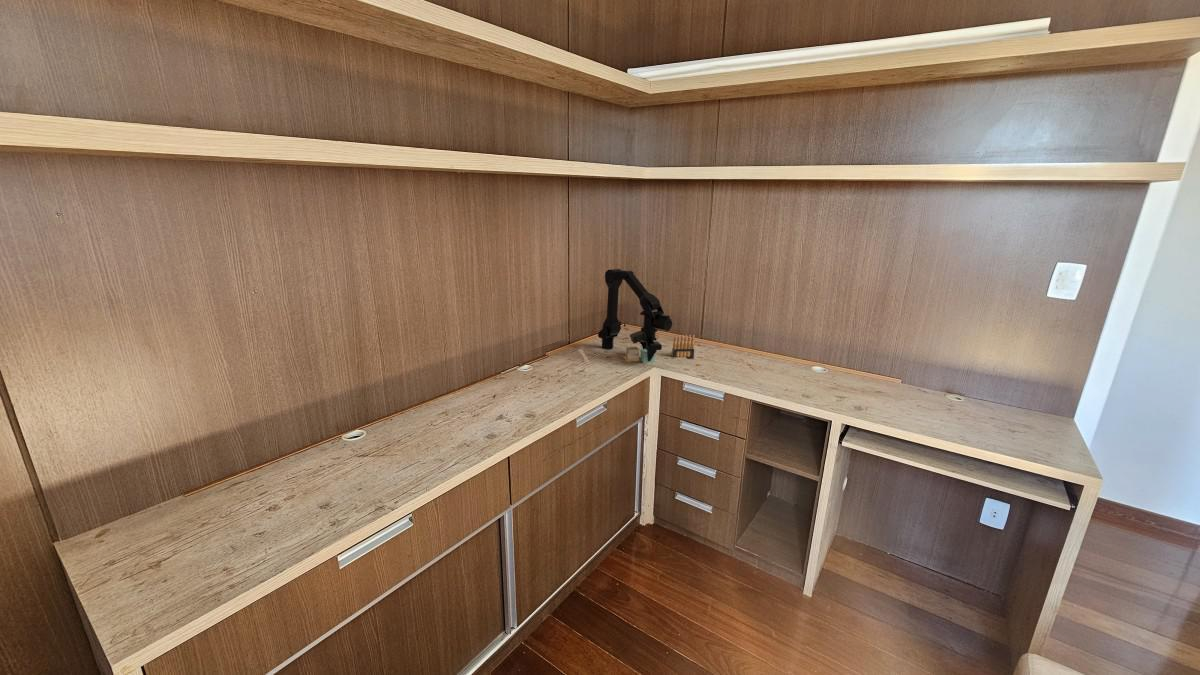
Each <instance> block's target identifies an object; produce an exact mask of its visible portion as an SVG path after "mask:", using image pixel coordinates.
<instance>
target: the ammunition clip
mask: <svg viewBox="0 0 1200 675" xmlns="http://www.w3.org/2000/svg"><path fill="white" fill-rule="evenodd" d="M670 356H671V358H675V359H676V358H686V359H687V360H695V359H694V358H695V357H694V356H695V334H692V337H691V334H689V335H687V334H685V336H684V334H682V335H680V334H678V336H677V334H674V337H673V342H672V350H671V355H670Z"/></svg>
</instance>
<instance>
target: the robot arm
mask: <svg viewBox="0 0 1200 675" xmlns="http://www.w3.org/2000/svg"><path fill="white" fill-rule="evenodd" d="M623 280H624V282H625V283H626V284H627V286H629V288H630V289H631V291H632V292H633V293H634V294H635V295H636V297H637V298H638V300H639V304H640V306H641V309H642V311H641V312H640V313H639V315H642V316H643V325H642V326H641V328H640V330H638V331H635V332H633V333H630V334H629V337H630V340H631V342H632V343H633V344H637V343H639V344H640V345H641V349H646V350H647V355H648V361H651V359H652V358H653V356H654V354H655V355H656V353H657V352H658V351H662V348H663V345H662V344H661V343H660V342H659V341H657V340H658V338H657V337H656V333H657V332H658V330H661V331H664V332H669V331H671V328H673V321H672V319H671V318H670V317H671V316H670V315H668V314H665V311H664V309H663V308H662V305H661V301H660V300H659V298H658V297H656V296H655V295H654V294H653V293H650V292H649V291H647V289H646V288H645V286H644V285H643V284H642V282H640V280H639V279H638V277H636V275H635V272H634V271H632V270H622V269H621V268H611V269H608V270H607V271H605V272H604V281H605V284H606V286H607V288H608V289H607V304H606V305H607V307H606V317H605V320H604V322H603V324H602V327H601V328H602V329H601V330H600V331H598V332H597V336H598V338H600V339H601V348H602V349H604V350H607V351H608V350H611V351H612V350H613V349H614V338H618V335H619V334H620V333H621V332H620V331H621V330H622V327H621V326H622V321H620V320H619V319H618V307H619V292H620V291H619V290H620V287H621V285H622V284H623Z"/></svg>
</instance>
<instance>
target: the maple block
mask: <svg viewBox="0 0 1200 675" xmlns="http://www.w3.org/2000/svg"><path fill="white" fill-rule="evenodd" d="M624 355H625V356H624V357H626V359H627V360H628V361H627V362H633V361H632V360H639V359H640V349H639V347H638V346H625V354H624ZM626 359H625V360H626Z"/></svg>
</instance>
